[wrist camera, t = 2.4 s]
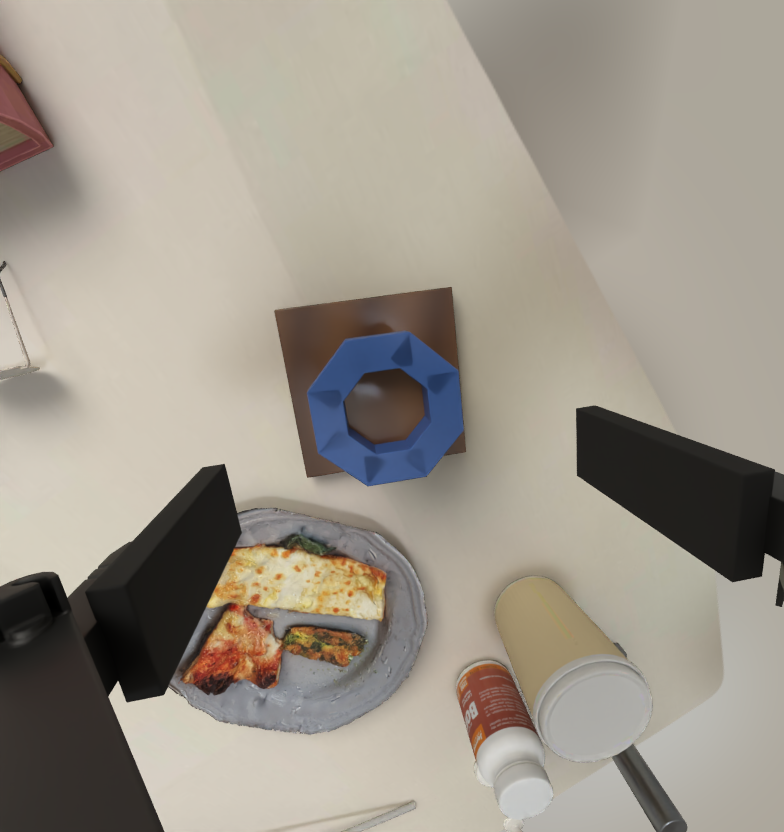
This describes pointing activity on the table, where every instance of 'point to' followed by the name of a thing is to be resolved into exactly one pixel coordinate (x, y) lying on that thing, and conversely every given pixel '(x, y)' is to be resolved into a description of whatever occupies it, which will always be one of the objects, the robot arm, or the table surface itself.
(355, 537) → the food plate
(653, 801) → the post
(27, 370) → the eyeglasses
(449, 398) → the ring
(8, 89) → the book
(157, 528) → the robot arm
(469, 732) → the pill bottle
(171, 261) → the table surface
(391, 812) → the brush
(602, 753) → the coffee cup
